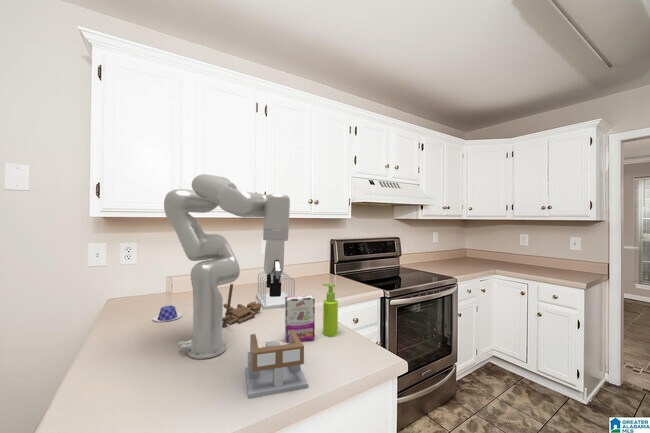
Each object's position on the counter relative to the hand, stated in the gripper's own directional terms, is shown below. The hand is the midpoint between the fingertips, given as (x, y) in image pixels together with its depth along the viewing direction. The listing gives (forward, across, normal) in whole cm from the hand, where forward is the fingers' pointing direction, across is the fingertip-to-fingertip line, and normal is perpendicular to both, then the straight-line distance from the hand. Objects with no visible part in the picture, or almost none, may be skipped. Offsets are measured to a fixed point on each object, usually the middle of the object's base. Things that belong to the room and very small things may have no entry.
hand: (273, 291), depth 85 cm
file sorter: (+27, -74, +10) cm, 80 cm away
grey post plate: (+24, +4, +1) cm, 25 cm away
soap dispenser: (+25, -23, +26) cm, 43 cm away
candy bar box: (+25, -21, +14) cm, 35 cm away
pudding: (+28, -60, -41) cm, 78 cm away
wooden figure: (+27, -50, -7) cm, 57 cm away
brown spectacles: (+18, +3, +1) cm, 19 cm away
